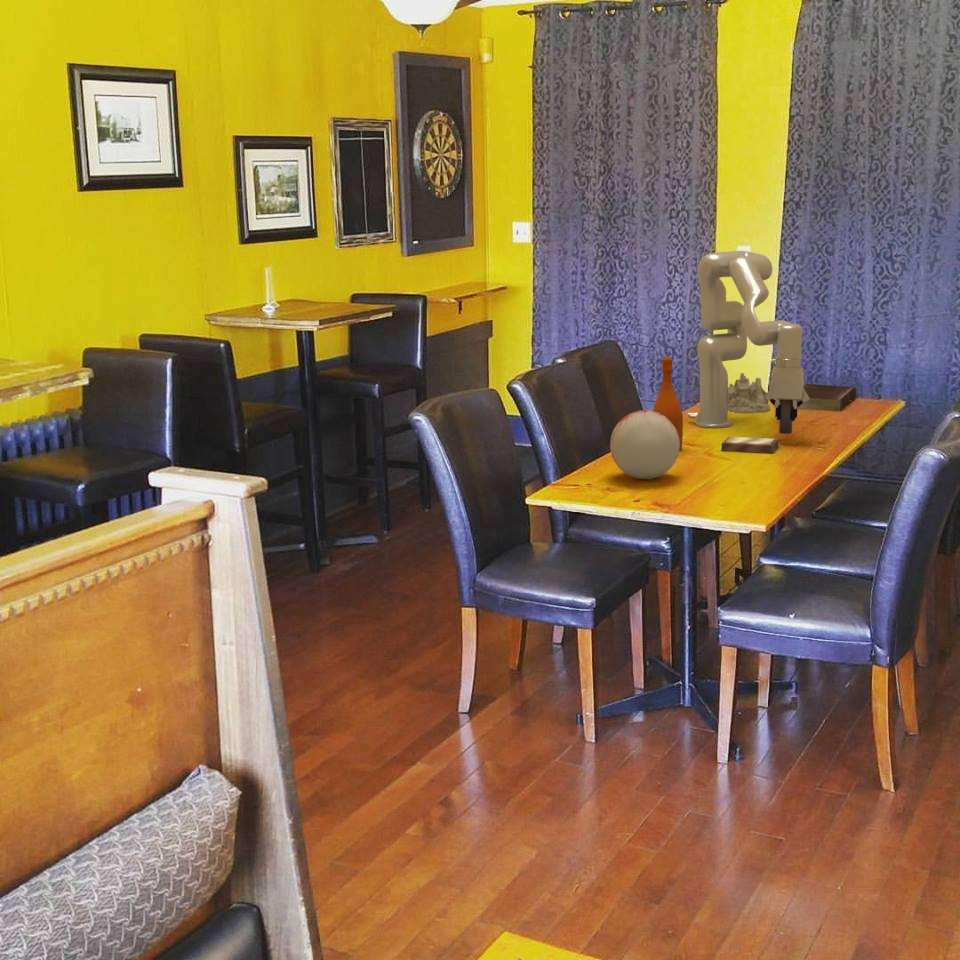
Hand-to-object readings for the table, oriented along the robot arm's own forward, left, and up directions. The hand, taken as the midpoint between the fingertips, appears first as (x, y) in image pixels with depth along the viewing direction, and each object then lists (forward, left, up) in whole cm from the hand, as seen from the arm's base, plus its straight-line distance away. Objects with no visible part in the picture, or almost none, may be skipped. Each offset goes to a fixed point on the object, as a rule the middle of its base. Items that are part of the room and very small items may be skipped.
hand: (786, 419), depth 393 cm
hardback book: (0, +77, -9) cm, 77 cm away
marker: (0, 0, -4) cm, 4 cm away
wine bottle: (-35, -16, -9) cm, 39 cm away
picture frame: (-10, -9, -8) cm, 16 cm away
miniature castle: (-25, +58, -9) cm, 63 cm away
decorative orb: (-31, -55, -9) cm, 64 cm away
